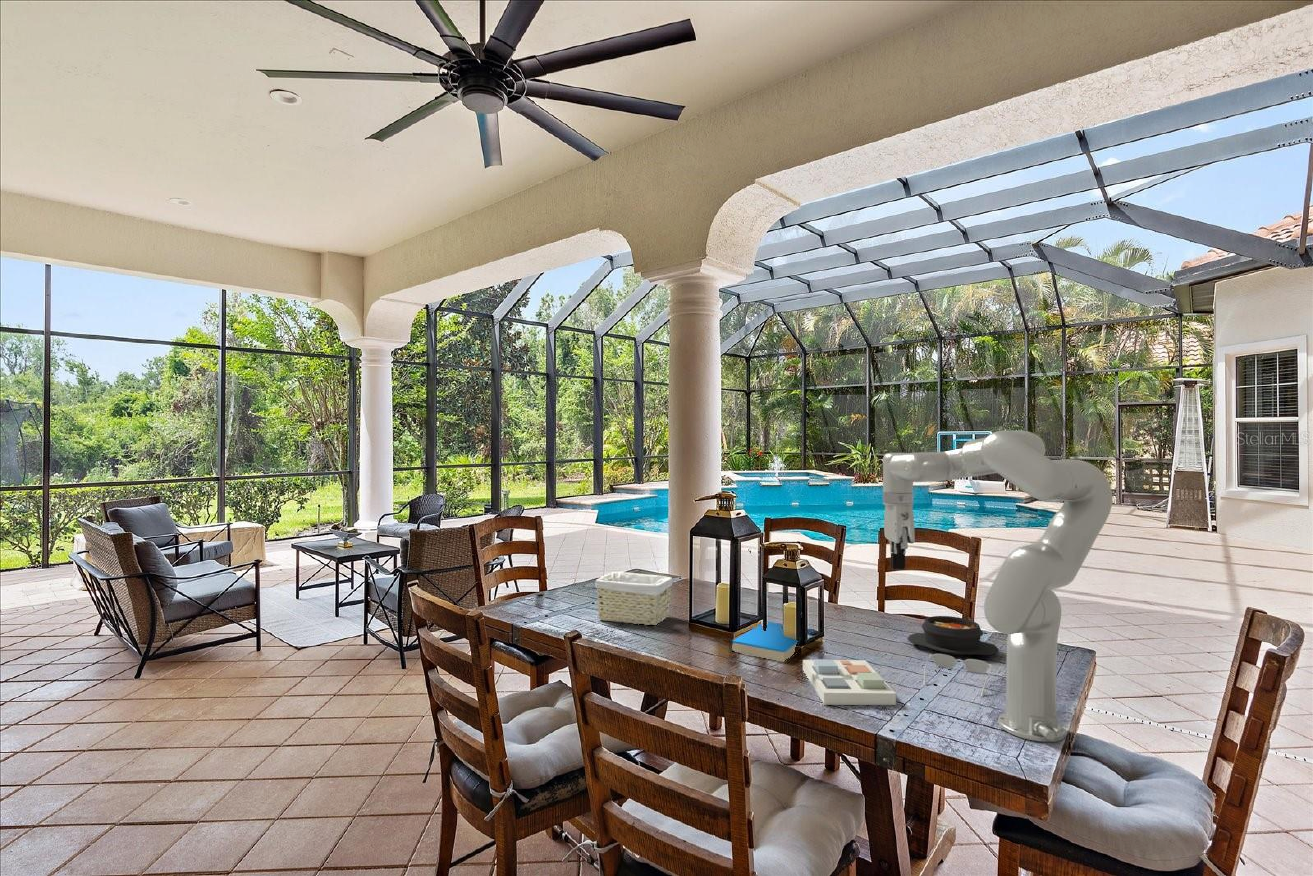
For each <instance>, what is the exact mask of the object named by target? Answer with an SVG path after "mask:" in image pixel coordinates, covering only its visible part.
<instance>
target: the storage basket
mask: <svg viewBox="0 0 1313 876" xmlns="http://www.w3.org/2000/svg"><path fill="white" fill-rule="evenodd" d="M594 585H595V586H594V588H596V597H597V601H596V603H597V610H598V612H597V613H598V620H599V621H605V622H606V621H607V622H615V623H622V622H623V624H629V623H634V624H635V623H636V624H638V625H639V624H644V625H643V626H646V625H656V624H657V623H659V622H660V621H661V620H662V618H664V617H666V615H667V614H670V600H671V590H672V589H671V587H672V585H673V578H672V577H671V576H670V577H669V576H664V575H655V574H648V573H647V574H646V573H645V574H644V573H636V572H625V571H612V572H610V573H607V574H605V575H603V576H601V577H599V578H598V579H597V578H596V580H595V584H594Z"/></svg>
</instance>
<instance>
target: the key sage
mask: <svg viewBox="0 0 1313 876" xmlns="http://www.w3.org/2000/svg"><path fill="white" fill-rule="evenodd" d="M884 681H885V680H884V678H883V677H882V676H881V675H880V674H879V673H878V672H877V673H857V683H858V684H859V686H860V687H861V688H862V689H884Z"/></svg>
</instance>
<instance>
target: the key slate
mask: <svg viewBox="0 0 1313 876" xmlns="http://www.w3.org/2000/svg"><path fill="white" fill-rule="evenodd" d="M823 684H824V686H825V687H826V689H849V685H848V684H847V683H846V681H845V680H844V679H843V678H823Z"/></svg>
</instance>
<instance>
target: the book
mask: <svg viewBox="0 0 1313 876" xmlns="http://www.w3.org/2000/svg"><path fill="white" fill-rule="evenodd" d="M767 622H768V625H767V628H766V631H764V630H763V627H762V624H763V623H761V624H759V625H758V626H756V627H754V628H752V629H751V630H749V631H747V632H745V633H744V634H741V635H740V636H738V637H736V638H735V639H733V640H732V643H731V645H730V650H731V652H732V650H733V651H735V652H740V653H744V654H748V655H755V656H757V657H756V658H758V657H761V658H760V659H763V658H766V659H765V660H768V659H775V660H779V661H783V662H784V661H785V660H786V659H788V658H789V659H790V657H791V656H792V655H793V654H794V652H795V647H796V644H797V642H798V641H797V640H795V639H792V638H788V637H785V636H784V634H783V628H782V627H783V625H782V624H783V623H779V622H773V621H767ZM814 630H815V629H814V628H809V634H810V633H811V632H813V631H814ZM814 632H815V631H814ZM748 655H747V656H748ZM793 656H794V655H793ZM793 656H792V657H793ZM792 657H791V658H792ZM789 659H788V660H789ZM786 661H787V660H786ZM786 661H785V662H786ZM785 662H784V663H785Z"/></svg>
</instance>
